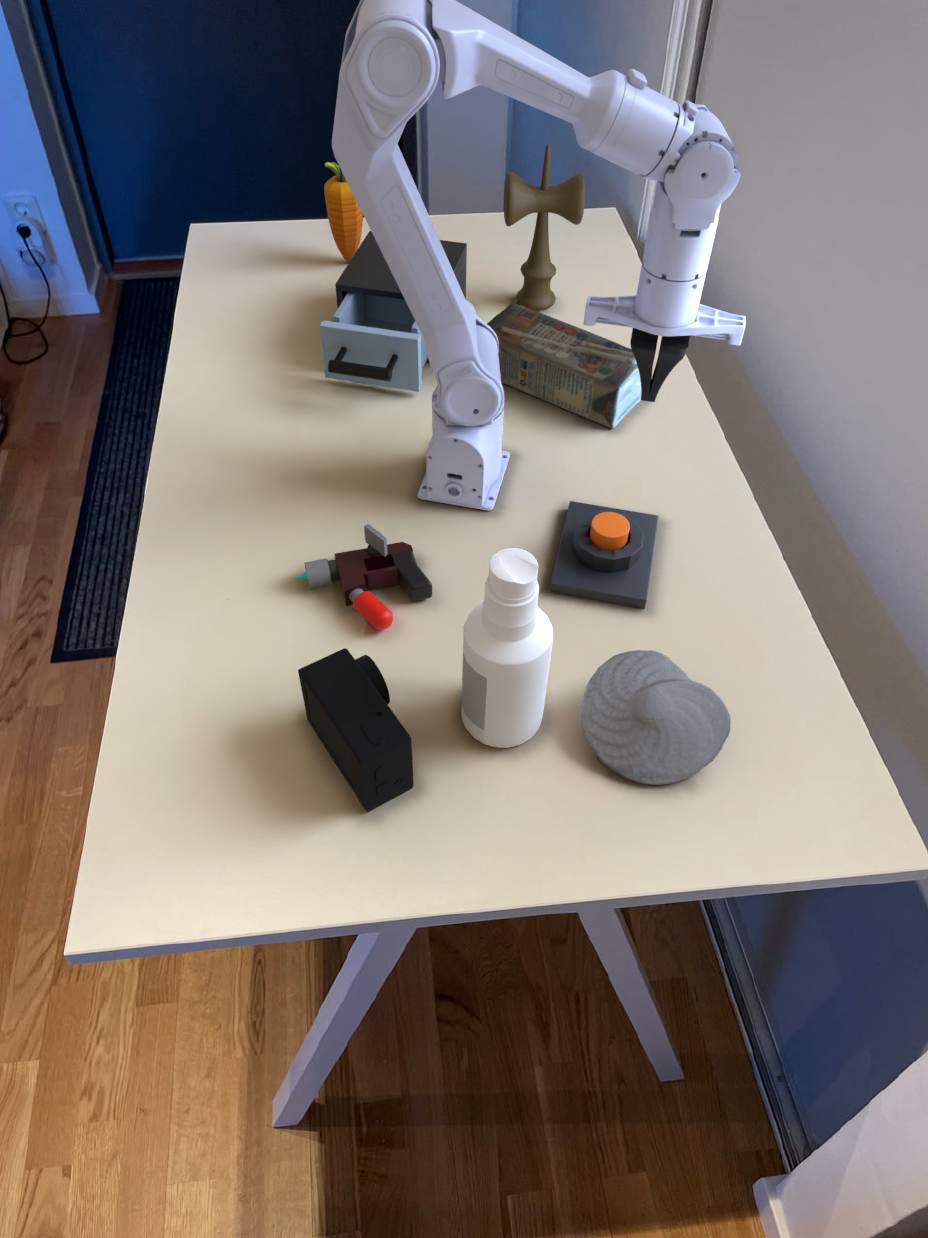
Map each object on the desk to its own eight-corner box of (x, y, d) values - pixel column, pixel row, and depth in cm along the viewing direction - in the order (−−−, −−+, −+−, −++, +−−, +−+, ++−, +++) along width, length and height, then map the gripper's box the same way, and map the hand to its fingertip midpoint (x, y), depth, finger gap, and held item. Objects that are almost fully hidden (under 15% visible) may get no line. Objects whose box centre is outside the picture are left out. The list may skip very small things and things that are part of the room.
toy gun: (293, 574, 88) (287, 537, 84) (416, 552, 90) (415, 515, 86) (310, 650, 82) (303, 613, 78) (441, 624, 84) (440, 588, 80)
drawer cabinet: (440, 363, 111) (440, 298, 105) (341, 349, 113) (334, 283, 107) (465, 306, 120) (467, 242, 114) (373, 293, 122) (369, 230, 115)
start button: (624, 553, 87) (627, 540, 85) (587, 547, 87) (589, 533, 86) (629, 528, 89) (632, 514, 88) (592, 522, 89) (594, 508, 88)
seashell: (618, 661, 81) (550, 720, 75) (642, 621, 77) (572, 679, 71) (724, 749, 78) (662, 818, 72) (755, 711, 73) (691, 781, 67)
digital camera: (428, 781, 73) (427, 731, 68) (367, 814, 71) (362, 765, 66) (364, 692, 79) (359, 640, 73) (307, 720, 77) (297, 668, 71)
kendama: (498, 291, 123) (505, 133, 108) (569, 291, 123) (587, 133, 108) (500, 315, 119) (508, 154, 104) (574, 315, 119) (592, 155, 104)
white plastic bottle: (500, 670, 80) (511, 517, 67) (558, 716, 77) (583, 565, 64) (444, 714, 77) (444, 563, 64) (502, 764, 74) (515, 616, 60)
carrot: (365, 271, 126) (357, 158, 114) (329, 270, 126) (317, 157, 114) (368, 254, 129) (361, 141, 118) (333, 253, 129) (322, 140, 118)
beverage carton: (612, 433, 103) (620, 383, 98) (471, 375, 110) (472, 325, 105) (645, 399, 107) (655, 349, 102) (508, 345, 114) (510, 296, 109)
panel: (644, 609, 85) (650, 587, 83) (549, 592, 87) (552, 570, 84) (656, 524, 93) (661, 501, 91) (568, 509, 94) (571, 486, 92)
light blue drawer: (409, 413, 103) (407, 361, 98) (312, 398, 105) (306, 346, 100) (445, 334, 114) (445, 283, 109) (357, 322, 116) (353, 271, 110)
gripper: (758, 254, 83) (724, 382, 93) (598, 234, 85) (581, 363, 95) (757, 293, 78) (721, 424, 88) (588, 271, 80) (571, 402, 90)
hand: (648, 395), depth 91 cm, fingers closed
